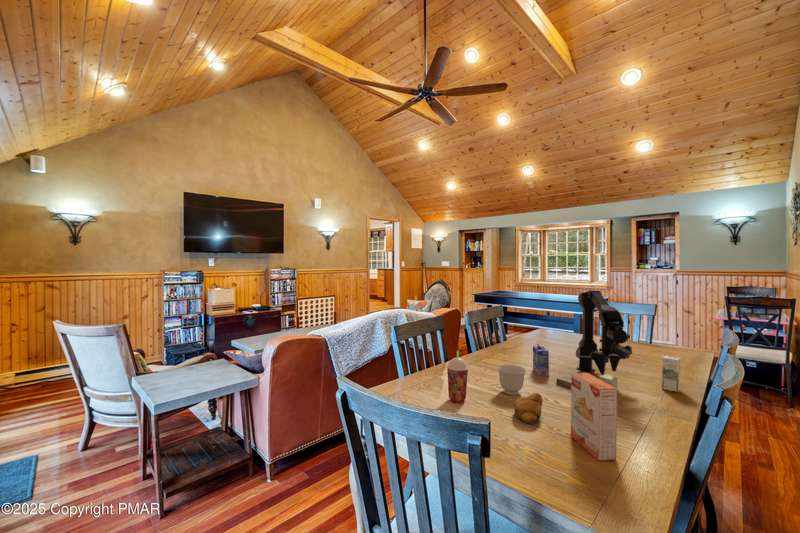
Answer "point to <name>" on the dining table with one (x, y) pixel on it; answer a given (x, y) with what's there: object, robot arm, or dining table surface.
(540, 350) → the ink cartridge box
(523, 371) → the teacup
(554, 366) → the dining table surface
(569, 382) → the walnut board
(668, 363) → the syrup box
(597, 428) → the cracker box
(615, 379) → the sage cube
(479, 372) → the dining table surface
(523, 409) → the bread roll
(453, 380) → the smoothie
